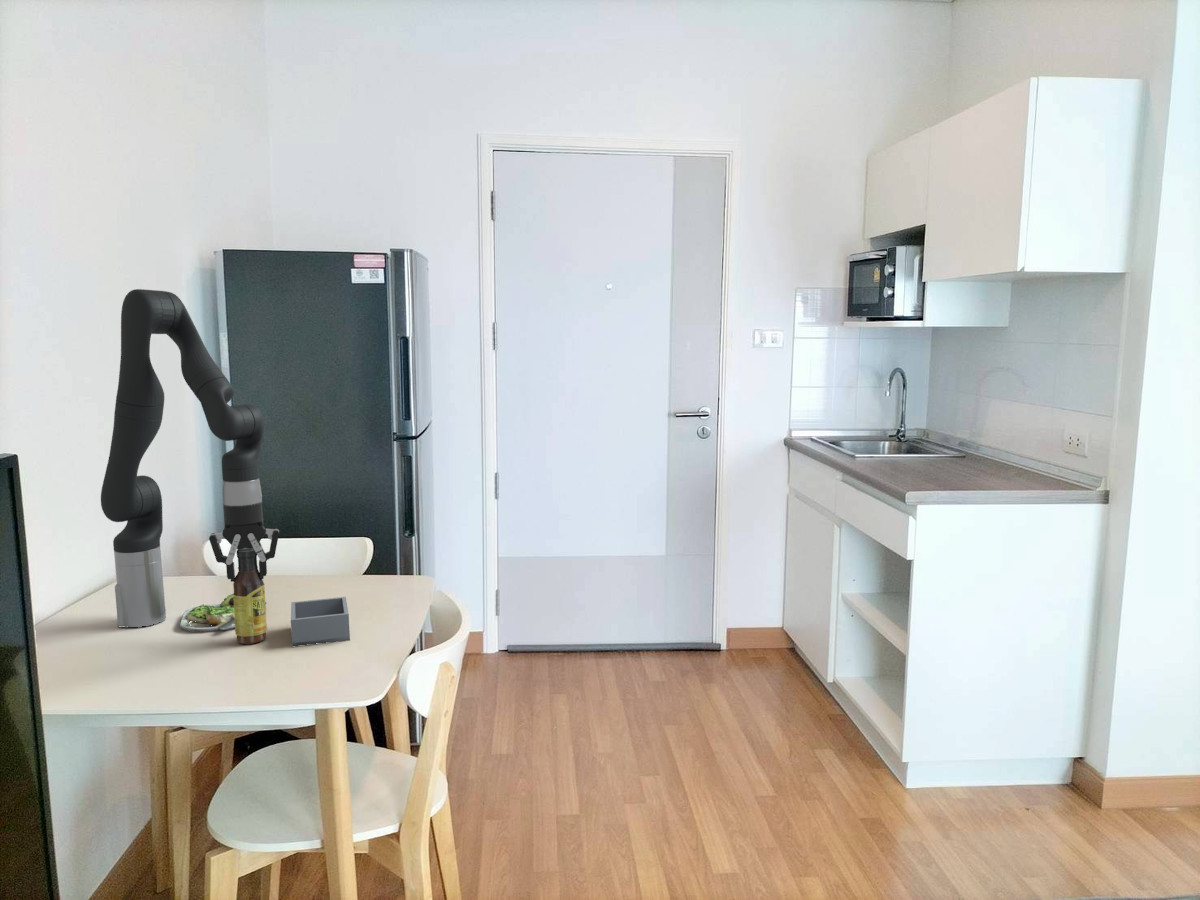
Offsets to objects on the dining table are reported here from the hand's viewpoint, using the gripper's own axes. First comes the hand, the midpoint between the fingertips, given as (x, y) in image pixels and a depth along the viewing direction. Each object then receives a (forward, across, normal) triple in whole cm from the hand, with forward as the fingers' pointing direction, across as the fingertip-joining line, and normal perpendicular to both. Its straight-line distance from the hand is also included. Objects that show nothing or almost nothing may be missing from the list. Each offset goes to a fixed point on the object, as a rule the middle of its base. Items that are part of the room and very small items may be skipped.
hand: (247, 579), depth 182 cm
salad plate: (+14, -7, +17) cm, 23 cm away
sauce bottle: (+14, 0, 0) cm, 14 cm away
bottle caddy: (+14, +14, -1) cm, 20 cm away
